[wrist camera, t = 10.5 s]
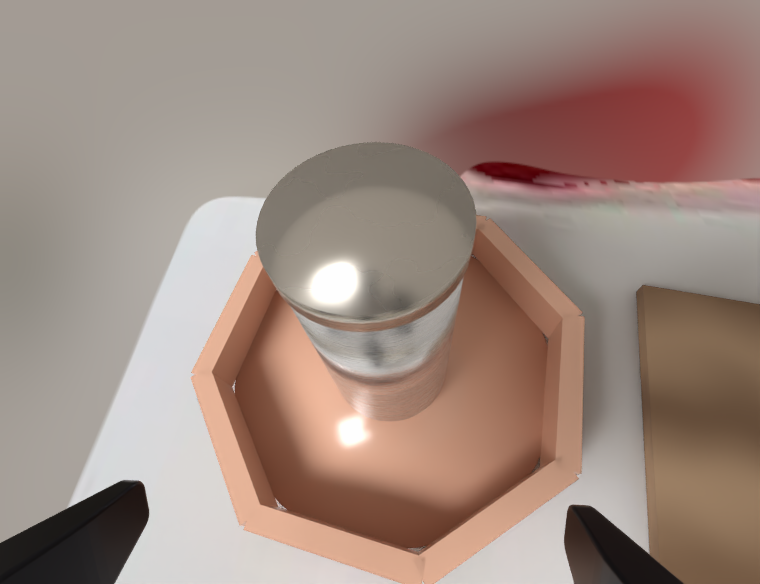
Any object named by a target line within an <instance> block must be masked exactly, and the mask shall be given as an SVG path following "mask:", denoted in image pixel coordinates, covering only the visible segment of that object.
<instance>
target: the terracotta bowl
mask: <svg viewBox="0 0 760 584" xmlns="http://www.w3.org/2000/svg"><path fill="white" fill-rule="evenodd" d="M476 222H477V224H476V232H475V238H474V243H473V249H472V254H471V255H474V256H475V257H476V258H477V259H478V260H477V259H475V258H474V257H472V256H471V258H470V261H469V265H468V268H467V270H466V272H465V275H464V277H463V283H462V288H461V293H460V299H459V304H458V310H457V315H456V321H455V326H454V331H453V337H452V342H451V348H450V353H449V359H448V364H447V369H446V375H445V379H444V383H443V386H442V388H441V391H440V392H439V394H438V396H437V397H436V399H435V400H434V401H433V402H432V404H430V405H429V406H428V407H427V408H426V409H425V410H423V411H422V412H421V413H419V414H417V415H415V416H413V417H411V418H408V419H405V420H400V421H391V422H389V421H379V420H374V419H371V418H368V417H366V416H364V415H362V414H360V413H359V412H357V411H356V410H355V409H353V408H352V407H351V406H350V405H349V404H348V403H347V401H346V400H345V399H344V397H343V396H342V394H341V392H340V391H339V389H338V387H337V386H336V384H335V382H334V380H333V379H332V377H331V375H330V374H329V372H328V370H327V368H326V367H325V365H324V363H323V361H322V360H321V358H320V356H319V355H318V353H317V351H316V349H315V348H314V346H313V344H312V342H311V341H310V339H309V337H308V336H307V334H306V332H305V330H304V329H303V327H302V325H301V323H300V322H299V320H298V318H297V317H296V315H295V313H294V311H293V310H292V308H291V306H290V305H288V304H287V302H286V301H285V300H284V299H283V298H282V297H281V295H280V294H279V292H278V291H277V290H276V287H275V286H274V284H273V282H272V281H271V279H270V277H269V276H268V274H267V272H266V271H265V269H264V267H263V265H262V263H261V260H260V258H259V255H258V251H256V252H255V254H256V256H254V255H251V257H250V259H249V261H248V263H247V265H246V267H245V269H244V270H243V272H242V274H241V276H240V278H239V280H238V282H237V284H236V286H235V288H234V290H233V292H232V294H231V296H230V298H229V300H228V302H227V304H226V306H225V308H224V309H223V311H222V313H221V315H220V317H219V319H218V321H217V323H216V325H215V327H214V329H213V331H212V333H211V335H210V337H209V339H208V341H207V343H206V345H205V347H204V348H203V350H202V352H201V354H200V356H199V358H198V360H197V362H196V364H195V366H194V368H193V370H192V372H191V373H192V374H194V376H192V377H191V380H192V383H193V386H194V389H195V392H196V395H197V398H198V401H199V404H200V407H201V410H202V413H203V416H204V419H205V422H206V425H207V428H208V431H209V434H210V437H211V441H212V444H213V447H214V450H215V453H216V456H217V459H218V462H219V465H220V468H221V471H222V474H223V477H224V480H225V483H226V486H227V489H228V492H229V495H230V498H231V501H232V504H233V507H234V510H235V513H236V516H237V519H238V522H239V525H240V526H245V527H244V530H246V531H249V532H251V533H254V534H257V535H260V536H263V537H266V538H269V539H272V540H275V541H278V542H281V543H284V544H287V545H290V546H293V547H296V548H299V549H302V550H305V551H308V552H311V553H314V554H317V555H319V556H322V557H325V558H328V559H331V560H334V561H337V562H340V563H343V564H346V565H349V566H352V567H355V568H358V569H361V570H364V571H367V572H370V573H373V574H376V575H379V576H382V577H384V578H387V579H390V580H393V581H396V582H399V583H402V584H422V580H423V582H424V584H434V583H436V582H437V581H438V580H440V579H441V578H443V577H444V576H445V575H447V574H448V573H449V572H451V571H452V570H454V569H455V568H456V567H458V566H459V565H460V564H462V563H463V562H465V561H466V560H467V559H469V558H470V557H472V556H473V555H474V554H476V553H477V552H478V551H480V550H481V549H483V548H484V547H485V546H487V545H488V544H489V543H491V542H492V541H494V540H495V539H496V538H498V537H499V536H501V535H502V534H503V533H505V532H506V531H507V530H509V529H510V528H512V527H513V526H514V525H516V524H517V523H518V522H520V521H521V520H523V519H524V518H525V517H527V516H528V515H530V514H531V513H532V512H534V511H535V510H536V509H538V508H539V507H541V506H542V505H543V504H545V503H546V502H547V501H549V500H550V499H552V498H553V497H554V496H556V495H557V494H559V493H560V492H561V491H563V490H564V489H565V488H567V487H568V486H570V485H571V484H572V483H574V482H575V481H576V480H578V479H579V478H578V477H577V476H576V475H579V474H581V468H582V419H583V370H584V321H585V317H583V316H580V315H581V314H582V313H583V312H582V311H581V310H580V309H579V308H578V307H577V306H576V305H575V304H574V303H573V302H572V301H571V300H570V299H569V298H568V297H567V296H566V295H565V294H564V293H563V292H562V291H561V290H560V289H559V288H558V287H557V286H556V285H555V284H554V283H553V282H552V281H551V280H550V279H549V278H548V277H547V276H546V275H545V274H544V273H543V272H542V271H541V270H540V269H539V268H538V267H537V265H536V264H535V263H534V262H533V261H532V260H531V259H530V258H529V257H528V256H527V255H526V254H525V253H524V252H523V251H522V250H521V249H520V248H519V247H518V246H517V245H516V244H515V243H514V242H513V241H512V240H511V239H510V238H509V237H508V236H507V235H506V234H505V233H504V232H503V231H502V230H501V229H500V228H499V227H498V226H497V225H496V224H495V223H494V222H493V221H492V220H491V219H488V220H486V216H480V215H476ZM542 332H543V333H544V335H545V336H546V337H547V338H548V347H547V343H546V340H545V337H544V335H543V333H542ZM235 380H236V383H235V393H234V391H233V388H232V386H233V384H234V382H235ZM539 458H540V467H539V468H538V469H536V470H535V471H533V469H534V468H535V466H536V464H537V462H538V460H539ZM532 471H533V472H532ZM531 472H532V473H531ZM275 498H276V499H277V500H278V502H279V503H280V504H281V505H282V506H284V507H285V508H286V509H287V510H286V509H283V508H280V507H278V505H277V502H276V500H275ZM426 545H428V546H426ZM422 546H426V547H425V548H423V549H422V550H420V551H419V552H417V551H414V550H411V549H408V548H418V547H422Z"/></svg>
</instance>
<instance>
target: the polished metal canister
mask: <svg viewBox="0 0 760 584" xmlns="http://www.w3.org/2000/svg"><path fill="white" fill-rule="evenodd" d="M476 224H477V222H476V210H475V206H474V201H473V199H472V196H471V194H470V191H469V190H468V188H467V186H466V185H465V183H464V181H463V180H462V179H461V178H460V177H459V175H458V174H457V173H456V172H455V171H454V170H453V169H451V168H450V167H449V166H448V165H447V164H445V163H444V162H442V161H441V160H440V159H438V158H436V157H434V156H432V155H430V154H428V153H426V152H424V151H421V150H419V149H416V148H412V147H409V146H405V145H399V144H393V143H381V142H378V143H377V142H374V143H359V144H352V145H347V146H342V147H338V148H335V149H331V150H328V151H326V152H324V153H321V154H318V155H316V156H314V157H312V158H310V159H308V160H307V161H305V162H303V163H302V164H300V165H298V166H297V167H295V168H294V169H293V170H292V171H291V172H289V173H288V174H287V175H286V176H285V177H283V179H281V180H280V181H279V182H278V184H277V185H276V186H275V187H274V188H273V190H272V191H271V192H270V194H269V196H268V197H267V199H266V200H265V202H264V204H263V206H262V209H261V211H260V214H259V218H258V221H257V227H256V246H257V250H258V255H259V258H260V260H261V263H262V265H263V267H264V269H265V271H266V272H267V274H268V276H269V277H270V279H271V281H272V282H273V284H274V286H275V287H276V289H277V291H278V292H279V294H280V295H281V297H282V298H283V299H284V300H285V301H286V302H287V304H288V305H290V306H291V308H292V310H293V311H294V313H295V315H296V317H297V318H298V320H299V322H300V323H301V325H302V327H303V329H304V330H305V332H306V334H307V336H308V337H309V339H310V341H311V342H312V344H313V346H314V348H315V349H316V351H317V353H318V355H319V356H320V358H321V360H322V361H323V363H324V365H325V367H326V368H327V370H328V372H329V374H330V375H331V377H332V379H333V380H334V382H335V384H336V386H337V387H338V389H339V391H340V392H341V394H342V396H343V397H344V399H345V400H346V401H347V403H348V404H349V405H350V406H351V407H352V408H353V409H355V410H356V411H357V412H359V413H360V414H362V415H364V416H366V417H368V418H371V419H374V420H379V421H389V422H391V421H400V420H405V419H408V418H411V417H413V416H415V415H417V414H419V413H421V412H422V411H423V410H425V409H426V408H427V407H428V406H429V405H430V404H432V402H433V401H434V400H435V399H436V397H437V396H438V394H439V392H440V391H441V388H442V386H443V383H444V379H445V375H446V369H447V364H448V359H449V353H450V348H451V342H452V337H453V331H454V326H455V321H456V315H457V310H458V304H459V299H460V293H461V288H462V283H463V277H464V275H465V272H466V270H467V268H468V265H469V261H470V258H471V254H472V249H473V243H474V238H475V232H476Z"/></svg>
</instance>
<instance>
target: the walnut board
mask: <svg viewBox="0 0 760 584" xmlns="http://www.w3.org/2000/svg"><path fill="white" fill-rule="evenodd" d="M636 295H637V314H638V334H639V353H640V373H641V392H642V412H643V431H644V451H645V470H646V490H647V509H648V529H649V548H650V555H651V556H652V557H653V558H654V559H655V560H657V561H658V562H659V563H660V564H661V565H663V566H664V567H665V568H666V569H667V570H669V571H670V572H671V573H672V574H673V575H675V576H676V577H677V578H678V579H679V580H681V581H682V582H683V583H684V584H760V304H754V303H748V302H742V301H736V300H730V299H724V298H718V297H712V296H706V295H700V294H694V293H688V292H682V291H676V290H670V289H664V288H658V287H652V286H646V285H642V287H641V288H640V289H639V290H638V291H637V292H636Z"/></svg>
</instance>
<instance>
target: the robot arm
mask: <svg viewBox="0 0 760 584" xmlns="http://www.w3.org/2000/svg"><path fill="white" fill-rule="evenodd" d="M148 518H149V507H148V502H147V497H146V492H145V487H144V484H143V483H142V482H141V481H134V480H123V481H120V482H118V483H116V484H114V485H112V486H110V487H108V488H106V489H104V490H102V491H100V492H98V493H96V494H94V495H93V496H91V497H89V498H87V499H85V500H83V501H81V502H79V503H77V504H75V505H73V506H71V507H69V508H67V509H65V510H63V511H61V512H60V513H58V514H56V515H54V516H52V517H50V518H48V519H46V520H44V521H42V522H40V523H38V524H36V525H34V526H32V527H30V528H28V529H27V530H25V531H23V532H21V533H19V534H17V535H15V536H13V537H11V538H9V539H7V540H5V541H3V542H1V543H0V584H114V583H115V582H116V580H117V578H118V576H119V574H120V572H121V570H122V569H123V567H124V565H125V563H126V561H127V559H128V558H129V556H130V554H131V552H132V550H133V548H134V546H135V545H136V543H137V541H138V539H139V537H140V535H141V534H142V532H143V530H144V528H145V526H146V524H147V521H148ZM564 545H565V551H566V555H567V559H568V562H569V566H570V570H571V573H572V577H573V580H574V584H684V583H683V582H682V581H681V580H679V579H678V578H677V577H676V576H675V575H673V574H672V573H671V572H670V571H669V570H667V569H666V568H665V567H664V566H663V565H661V564H660V563H659V562H658V561H657V560H655V559H654V558H653V557H652V556H651V555H649V554H648V553H647V552H646V551H645V550H644V549H642V548H641V547H640V546H639V545H638V544H636V543H635V542H634V541H633V540H632V539H630V538H629V537H628V536H627V535H626V534H624V533H623V532H622V531H621V530H620V529H618V528H617V527H616V526H615V525H614V524H613V523H611V522H610V521H609V520H608V519H607V518H605V517H604V516H603V515H602V514H601V513H599V512H598V511H597V510H596V509H595V508H593V507H591V506H588V505H571V506H569V508H568V511H567V518H566V527H565V535H564Z"/></svg>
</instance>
